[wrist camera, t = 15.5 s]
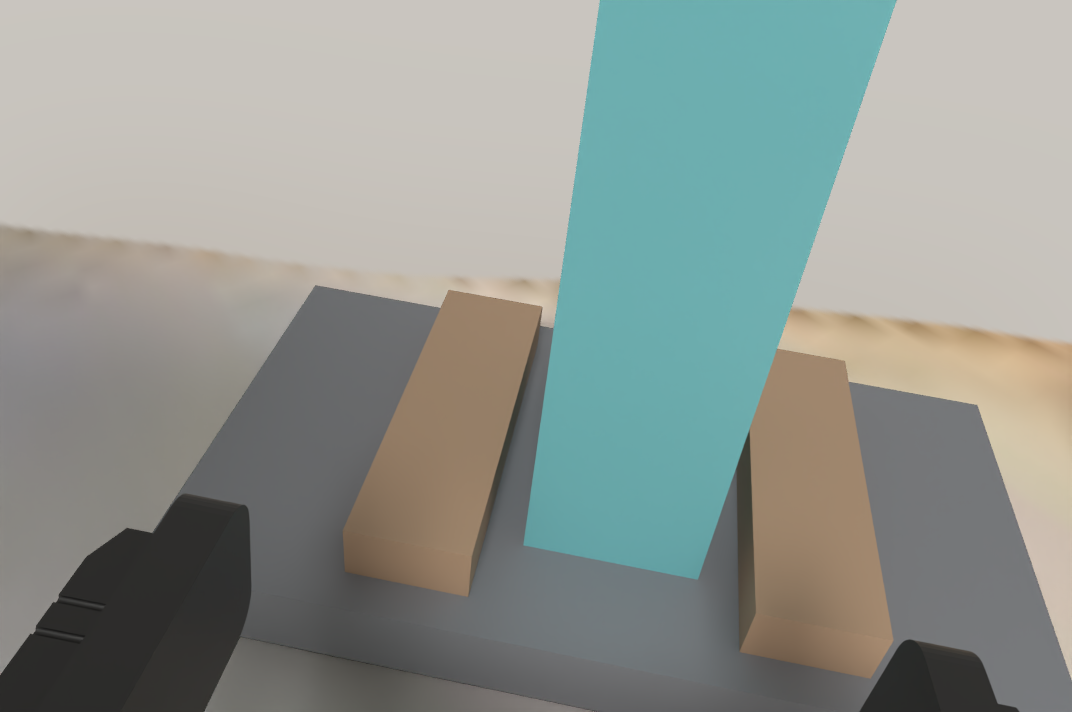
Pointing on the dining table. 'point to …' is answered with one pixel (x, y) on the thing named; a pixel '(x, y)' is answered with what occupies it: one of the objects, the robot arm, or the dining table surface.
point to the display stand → (597, 586)
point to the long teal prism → (686, 259)
